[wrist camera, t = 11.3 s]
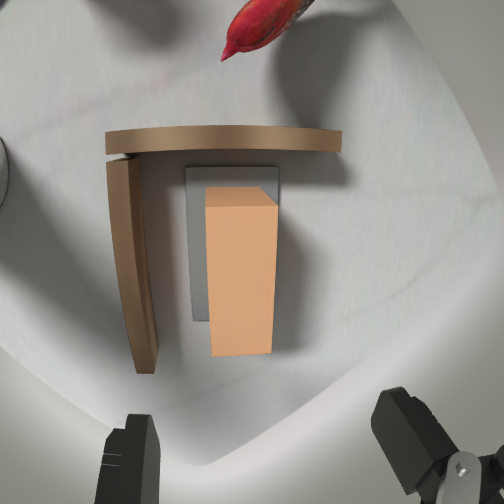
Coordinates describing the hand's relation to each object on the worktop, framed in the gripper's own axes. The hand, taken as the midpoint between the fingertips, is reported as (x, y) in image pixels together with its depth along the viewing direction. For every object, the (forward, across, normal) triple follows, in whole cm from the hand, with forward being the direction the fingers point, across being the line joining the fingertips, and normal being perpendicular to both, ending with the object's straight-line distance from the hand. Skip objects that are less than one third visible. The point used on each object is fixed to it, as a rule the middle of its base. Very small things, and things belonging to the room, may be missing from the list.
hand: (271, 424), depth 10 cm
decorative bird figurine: (+18, -4, -20) cm, 27 cm away
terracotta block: (+17, 0, 0) cm, 17 cm away
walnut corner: (+18, 0, 0) cm, 18 cm away
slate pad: (+18, 0, 0) cm, 18 cm away
